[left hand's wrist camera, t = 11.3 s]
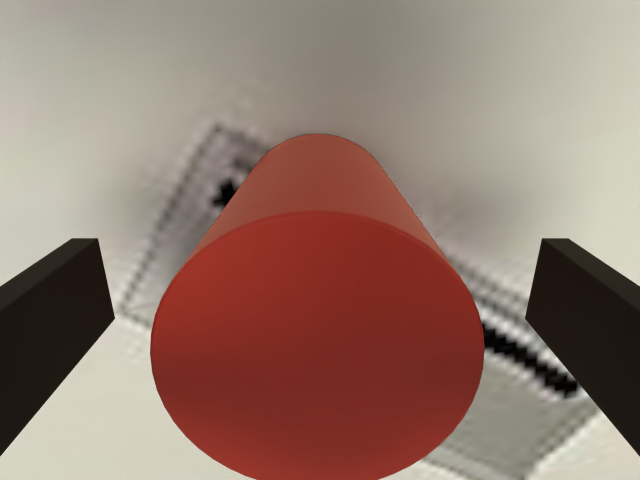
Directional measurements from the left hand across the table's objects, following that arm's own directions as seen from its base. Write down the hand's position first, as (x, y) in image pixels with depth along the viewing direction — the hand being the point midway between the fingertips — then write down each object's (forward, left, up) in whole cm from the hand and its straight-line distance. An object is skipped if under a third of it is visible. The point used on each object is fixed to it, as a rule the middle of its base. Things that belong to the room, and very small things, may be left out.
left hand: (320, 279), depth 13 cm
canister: (0, 0, -8) cm, 8 cm away
